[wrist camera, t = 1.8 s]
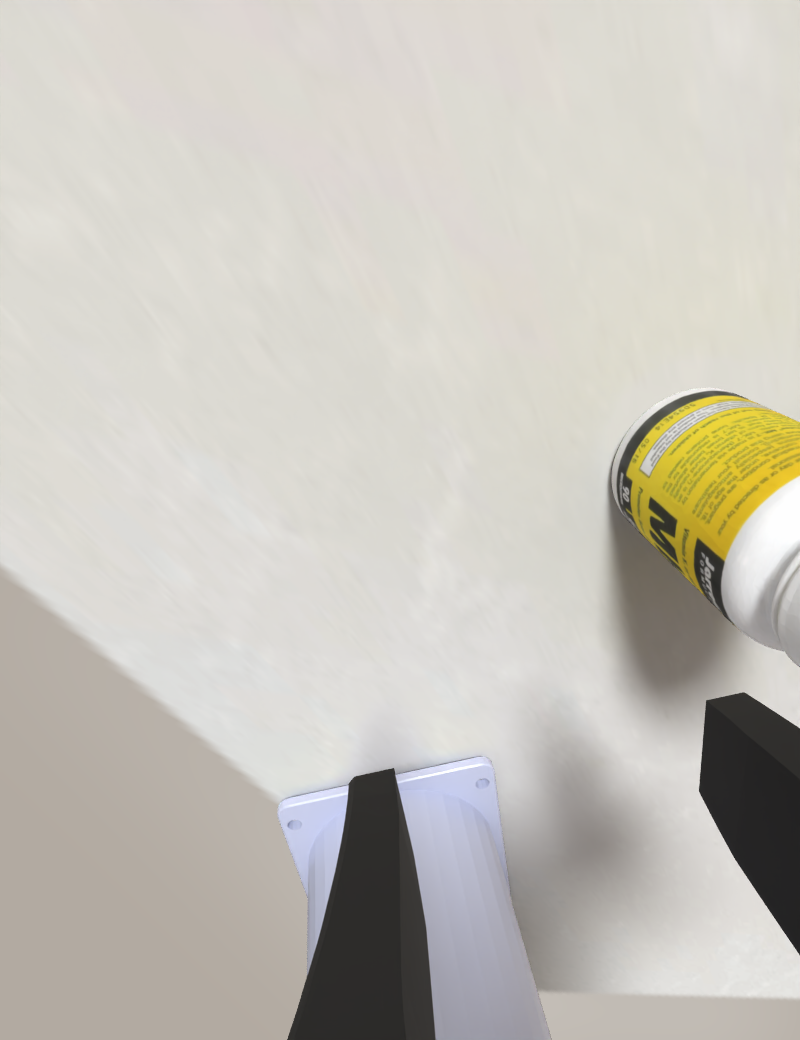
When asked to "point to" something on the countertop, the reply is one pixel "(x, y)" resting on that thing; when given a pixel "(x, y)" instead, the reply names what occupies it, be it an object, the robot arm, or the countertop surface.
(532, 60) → the countertop surface
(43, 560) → the countertop surface
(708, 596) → the supplement bottle
